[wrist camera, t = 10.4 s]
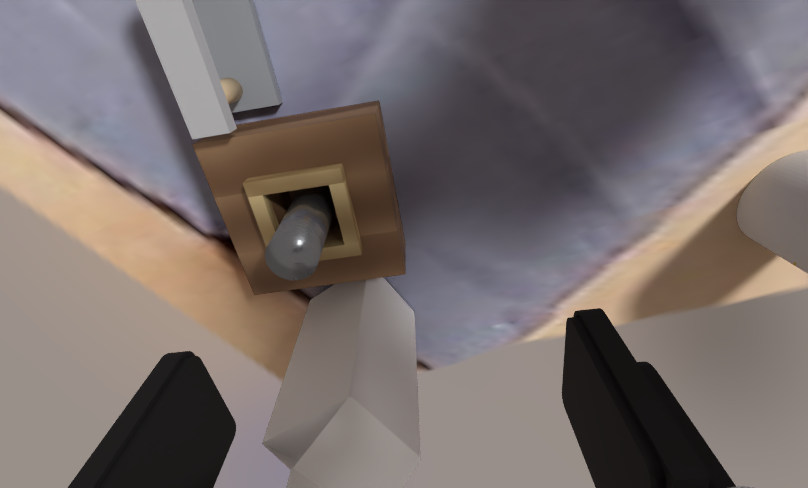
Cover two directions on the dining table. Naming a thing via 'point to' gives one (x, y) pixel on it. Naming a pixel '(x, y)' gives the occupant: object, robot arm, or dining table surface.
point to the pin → (301, 234)
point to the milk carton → (350, 392)
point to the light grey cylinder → (779, 209)
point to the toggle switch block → (305, 168)
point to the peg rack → (212, 59)
